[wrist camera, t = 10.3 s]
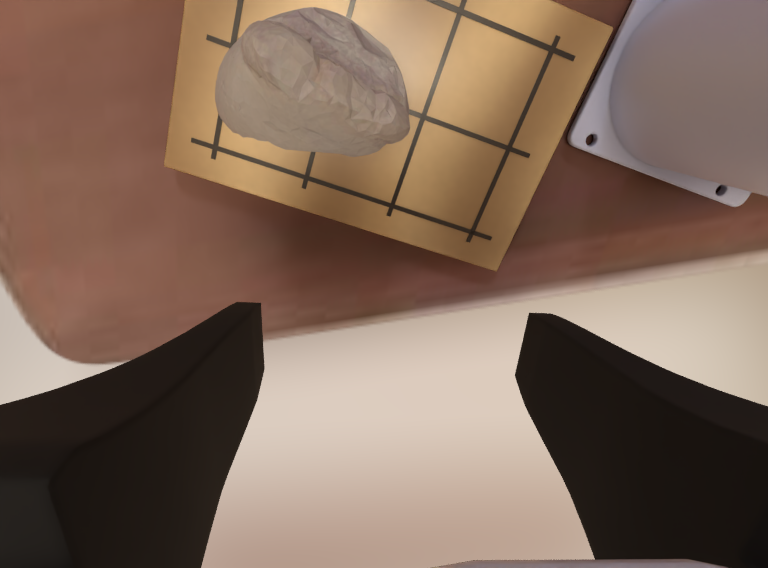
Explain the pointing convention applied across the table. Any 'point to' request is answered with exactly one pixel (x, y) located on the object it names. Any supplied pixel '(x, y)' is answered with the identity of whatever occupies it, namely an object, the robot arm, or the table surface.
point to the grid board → (426, 115)
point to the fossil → (313, 85)
